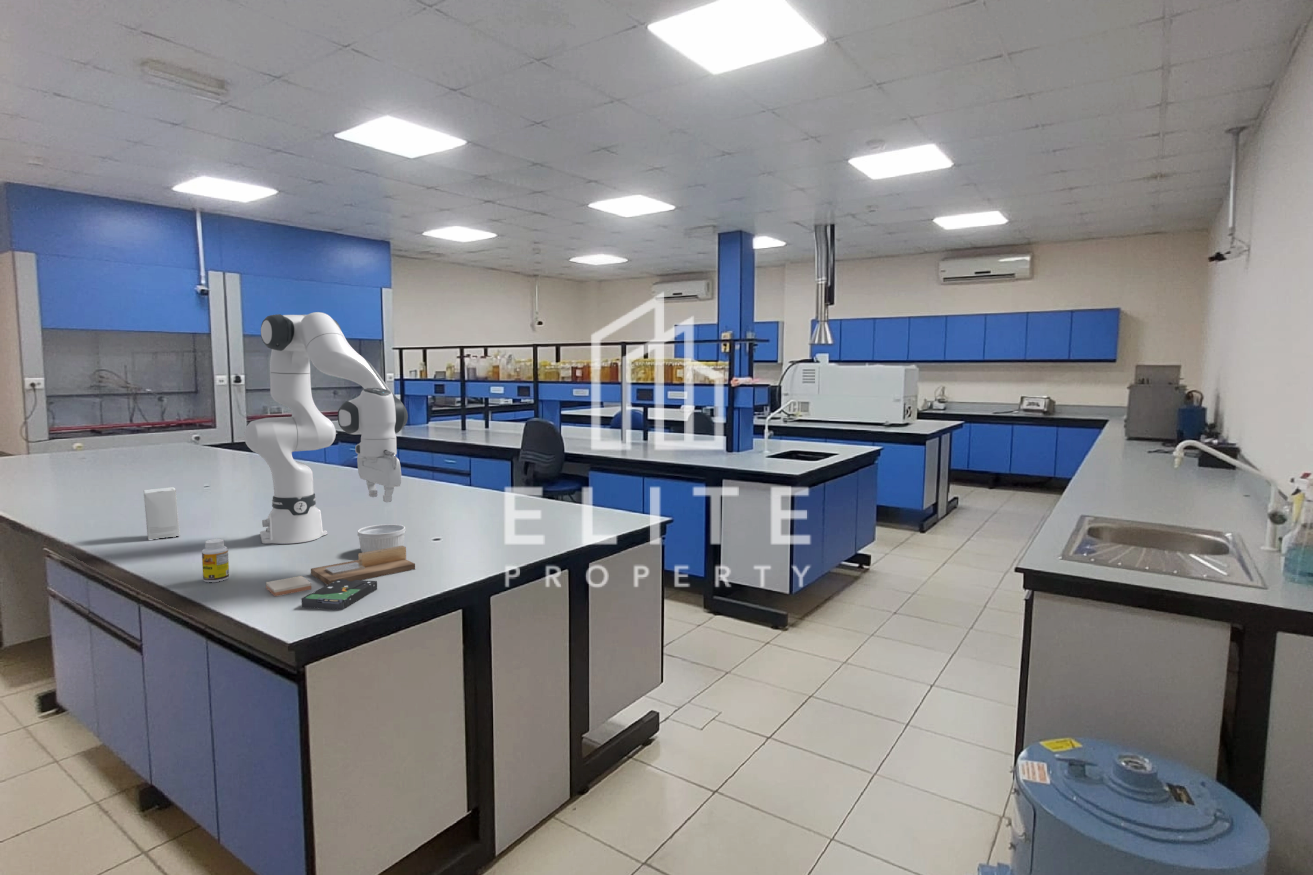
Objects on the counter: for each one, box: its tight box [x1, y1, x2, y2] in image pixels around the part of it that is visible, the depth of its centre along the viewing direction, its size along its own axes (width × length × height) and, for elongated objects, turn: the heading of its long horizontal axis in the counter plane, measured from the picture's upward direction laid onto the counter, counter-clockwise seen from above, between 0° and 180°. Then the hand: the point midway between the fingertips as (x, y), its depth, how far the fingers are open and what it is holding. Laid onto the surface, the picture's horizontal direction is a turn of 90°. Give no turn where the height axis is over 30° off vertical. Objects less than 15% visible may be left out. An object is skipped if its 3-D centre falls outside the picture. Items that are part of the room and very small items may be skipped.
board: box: [310, 558, 416, 585], centre depth 177 cm, size 14×22×2 cm, turn 135°
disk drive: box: [301, 579, 378, 611], centre depth 157 cm, size 10×3×15 cm
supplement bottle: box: [201, 538, 230, 583], centre depth 169 cm, size 6×6×10 cm
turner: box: [325, 545, 407, 575], centre depth 178 cm, size 20×6×3 cm, turn 135°
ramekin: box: [357, 523, 406, 553], centre depth 197 cm, size 13×13×7 cm
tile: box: [265, 575, 312, 597], centre depth 163 cm, size 2×8×8 cm
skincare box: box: [143, 486, 181, 540], centre depth 211 cm, size 8×7×16 cm
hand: (380, 499), depth 179 cm, fingers open, 8 cm apart
